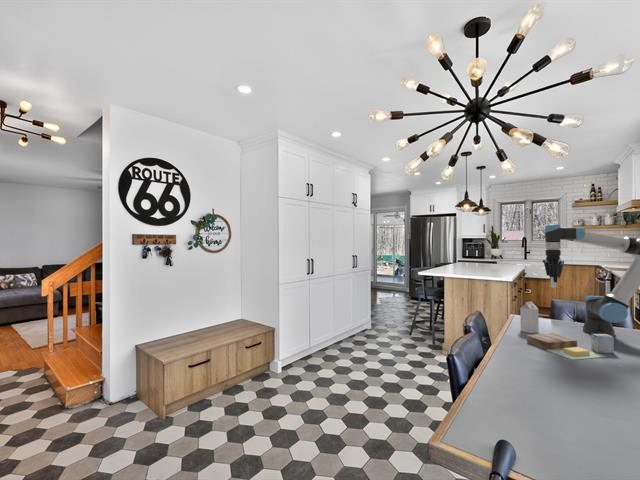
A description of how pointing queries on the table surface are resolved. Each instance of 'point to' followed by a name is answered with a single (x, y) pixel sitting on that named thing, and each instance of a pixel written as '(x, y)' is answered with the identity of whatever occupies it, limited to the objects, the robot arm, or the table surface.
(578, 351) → the yellow sponge block
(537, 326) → the milk carton
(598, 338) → the medicine box
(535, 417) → the table surface
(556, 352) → the mat
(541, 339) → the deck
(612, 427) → the table surface
